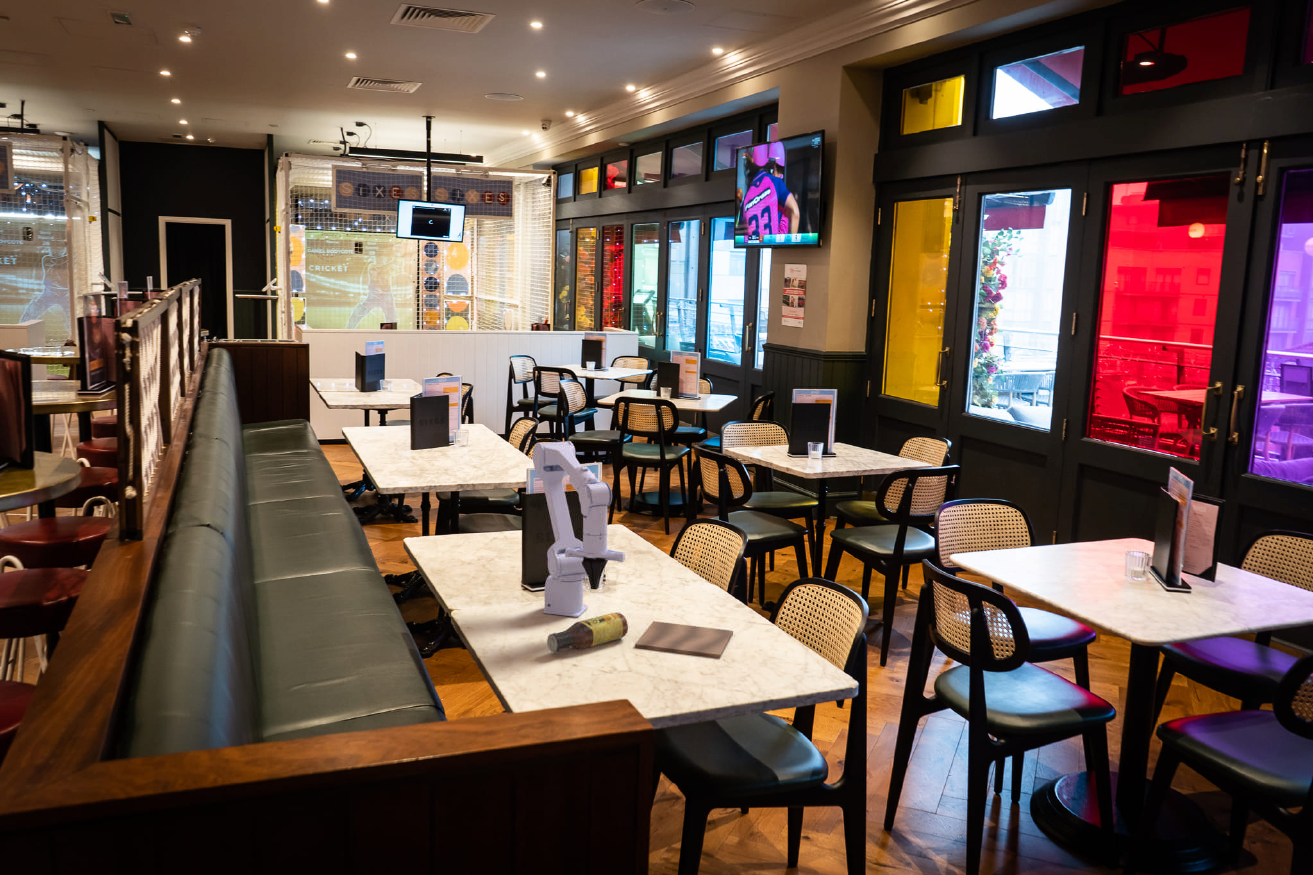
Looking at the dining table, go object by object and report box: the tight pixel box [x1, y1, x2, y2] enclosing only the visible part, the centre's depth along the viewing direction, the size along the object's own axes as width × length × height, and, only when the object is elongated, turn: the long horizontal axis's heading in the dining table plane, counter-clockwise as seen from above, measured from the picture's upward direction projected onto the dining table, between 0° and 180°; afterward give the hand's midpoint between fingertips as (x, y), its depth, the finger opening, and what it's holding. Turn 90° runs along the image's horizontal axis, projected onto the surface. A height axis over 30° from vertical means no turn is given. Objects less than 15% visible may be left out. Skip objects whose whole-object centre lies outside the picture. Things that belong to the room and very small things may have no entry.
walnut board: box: [634, 620, 734, 659], centre depth 221 cm, size 20×16×1 cm
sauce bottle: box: [546, 612, 629, 653], centre depth 216 cm, size 7×6×20 cm
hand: (594, 588), depth 225 cm, fingers closed
